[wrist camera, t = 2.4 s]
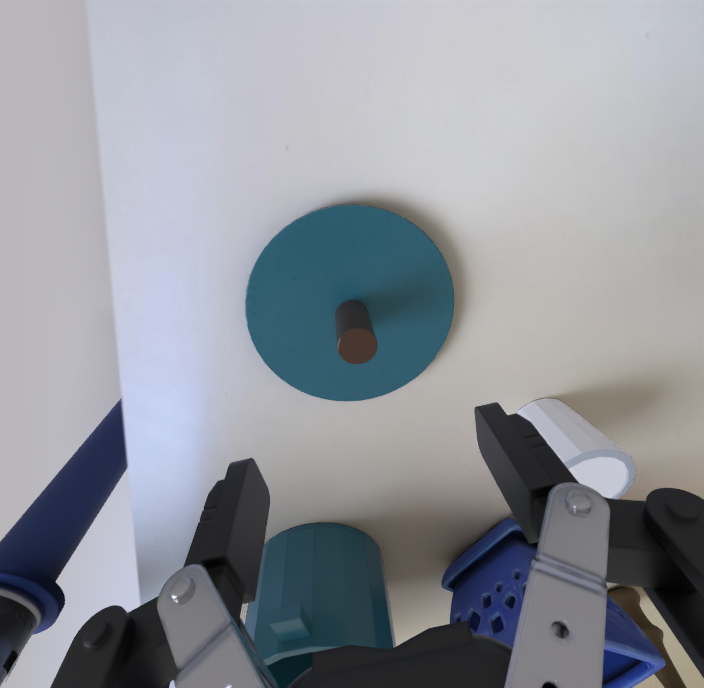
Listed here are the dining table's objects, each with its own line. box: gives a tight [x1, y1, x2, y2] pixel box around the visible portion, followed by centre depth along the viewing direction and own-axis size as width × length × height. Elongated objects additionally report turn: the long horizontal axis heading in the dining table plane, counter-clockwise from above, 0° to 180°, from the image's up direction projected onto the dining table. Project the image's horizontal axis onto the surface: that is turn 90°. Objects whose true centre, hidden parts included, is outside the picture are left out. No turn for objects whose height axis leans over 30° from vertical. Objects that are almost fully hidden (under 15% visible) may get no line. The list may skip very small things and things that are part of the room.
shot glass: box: [517, 398, 636, 499], centre depth 30 cm, size 7×7×7 cm
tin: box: [245, 523, 396, 688], centre depth 35 cm, size 14×19×10 cm
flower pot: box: [441, 518, 666, 688], centre depth 36 cm, size 13×13×12 cm
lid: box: [245, 204, 454, 401], centre depth 24 cm, size 15×15×6 cm
